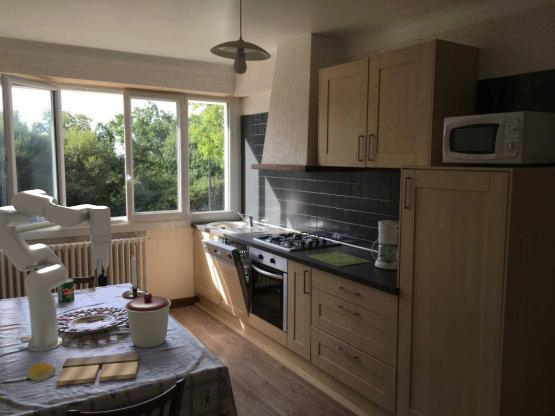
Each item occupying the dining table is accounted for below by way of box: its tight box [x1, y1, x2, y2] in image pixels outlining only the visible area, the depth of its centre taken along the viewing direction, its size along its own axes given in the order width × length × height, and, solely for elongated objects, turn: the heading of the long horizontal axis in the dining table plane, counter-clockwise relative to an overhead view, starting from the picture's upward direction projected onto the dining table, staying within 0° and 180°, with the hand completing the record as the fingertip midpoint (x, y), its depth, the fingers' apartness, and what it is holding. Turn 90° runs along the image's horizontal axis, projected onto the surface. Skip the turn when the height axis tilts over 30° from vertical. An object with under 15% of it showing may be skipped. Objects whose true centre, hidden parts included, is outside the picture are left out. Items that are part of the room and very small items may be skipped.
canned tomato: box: [56, 278, 76, 304], centre depth 242 cm, size 8×8×11 cm
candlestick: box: [121, 248, 148, 328], centre depth 209 cm, size 11×11×35 cm
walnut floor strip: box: [62, 352, 140, 369], centre depth 173 cm, size 26×6×2 cm, turn 102°
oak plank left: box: [55, 365, 100, 387], centre depth 163 cm, size 12×10×2 cm
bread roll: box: [27, 362, 56, 381], centre depth 164 cm, size 8×9×4 cm
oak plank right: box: [98, 361, 139, 382], centre depth 165 cm, size 12×10×2 cm
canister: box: [124, 292, 172, 349], centre depth 190 cm, size 18×18×21 cm
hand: (102, 285), depth 179 cm, fingers closed
